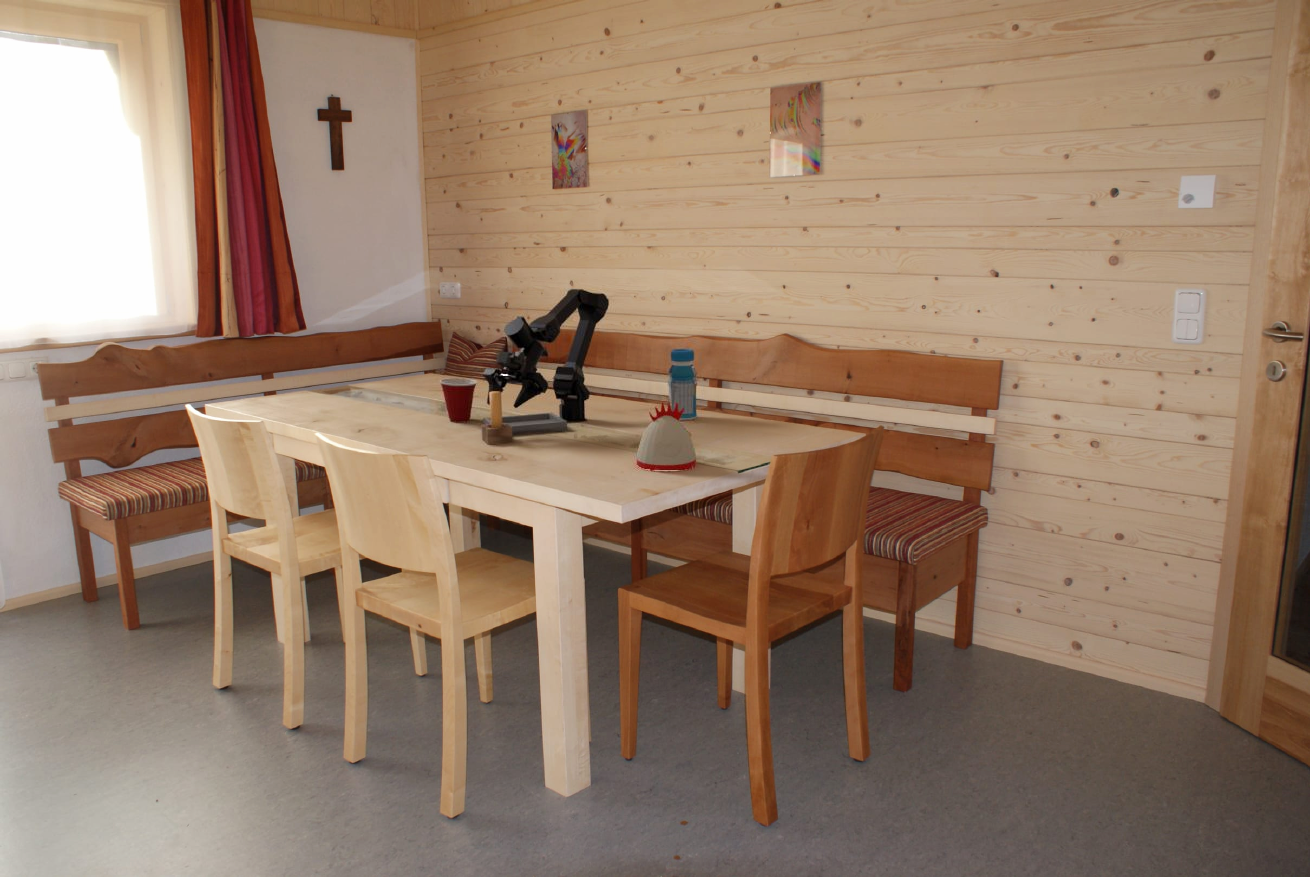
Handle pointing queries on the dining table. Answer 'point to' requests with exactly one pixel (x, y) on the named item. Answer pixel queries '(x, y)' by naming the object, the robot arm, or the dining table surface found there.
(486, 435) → the walnut socket block
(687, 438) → the chicken hat
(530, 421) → the charcoal tray
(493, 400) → the tan dowel pin
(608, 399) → the dining table surface
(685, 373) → the beverage bottle
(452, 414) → the plastic cup
